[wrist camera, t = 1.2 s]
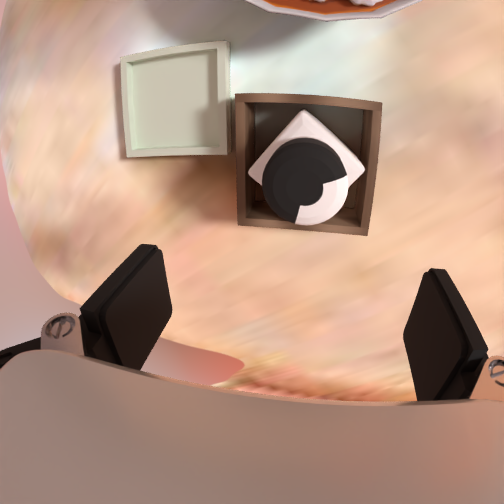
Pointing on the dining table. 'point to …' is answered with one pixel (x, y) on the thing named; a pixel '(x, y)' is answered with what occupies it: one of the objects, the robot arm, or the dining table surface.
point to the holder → (245, 158)
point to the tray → (177, 100)
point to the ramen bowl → (333, 8)
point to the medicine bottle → (306, 171)
